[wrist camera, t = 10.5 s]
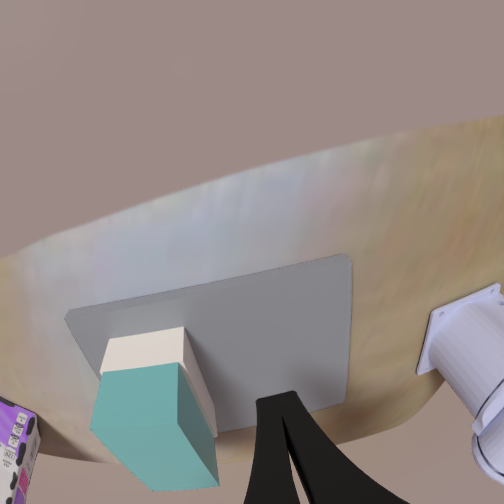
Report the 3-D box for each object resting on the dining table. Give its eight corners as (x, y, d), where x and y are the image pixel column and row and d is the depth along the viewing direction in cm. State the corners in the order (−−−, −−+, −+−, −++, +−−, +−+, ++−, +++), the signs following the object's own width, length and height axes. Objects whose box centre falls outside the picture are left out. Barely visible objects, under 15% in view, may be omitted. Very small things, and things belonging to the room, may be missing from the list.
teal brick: (178, 361, 15) (177, 422, 12) (214, 437, 19) (219, 486, 15) (103, 371, 15) (89, 428, 12) (153, 444, 19) (152, 491, 15)
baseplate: (345, 253, 19) (375, 285, 15) (341, 393, 25) (357, 427, 21) (68, 310, 18) (48, 350, 14) (144, 432, 24) (141, 468, 20)
